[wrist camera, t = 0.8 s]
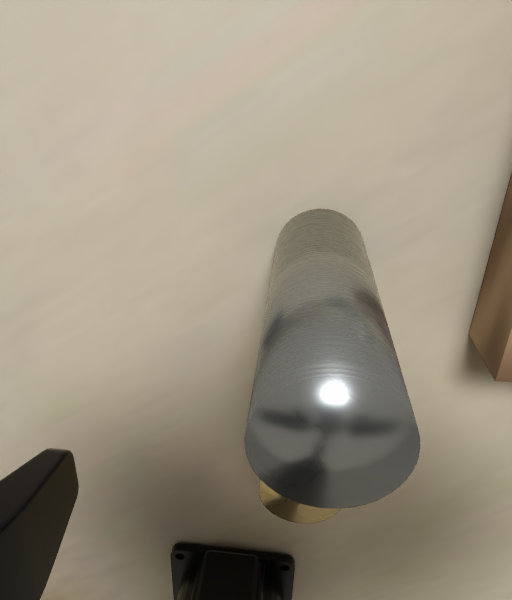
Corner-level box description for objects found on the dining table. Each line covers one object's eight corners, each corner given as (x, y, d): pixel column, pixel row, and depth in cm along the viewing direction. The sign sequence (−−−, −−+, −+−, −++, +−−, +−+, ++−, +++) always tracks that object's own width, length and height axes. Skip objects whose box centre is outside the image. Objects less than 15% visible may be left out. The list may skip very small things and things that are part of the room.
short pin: (335, 451, 22) (341, 527, 19) (265, 444, 22) (257, 518, 19) (343, 394, 21) (351, 465, 17) (268, 388, 21) (260, 457, 17)
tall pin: (358, 293, 19) (403, 516, 10) (273, 287, 19) (243, 500, 10) (369, 211, 17) (435, 385, 8) (278, 206, 17) (246, 369, 8)
